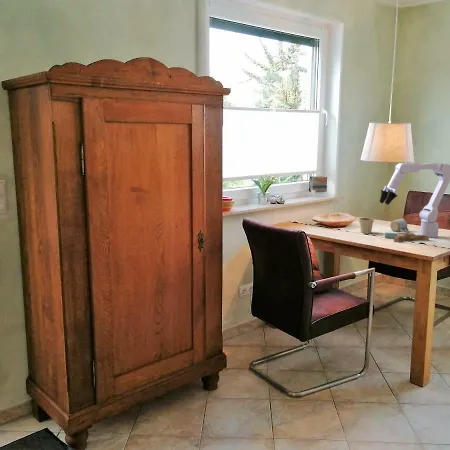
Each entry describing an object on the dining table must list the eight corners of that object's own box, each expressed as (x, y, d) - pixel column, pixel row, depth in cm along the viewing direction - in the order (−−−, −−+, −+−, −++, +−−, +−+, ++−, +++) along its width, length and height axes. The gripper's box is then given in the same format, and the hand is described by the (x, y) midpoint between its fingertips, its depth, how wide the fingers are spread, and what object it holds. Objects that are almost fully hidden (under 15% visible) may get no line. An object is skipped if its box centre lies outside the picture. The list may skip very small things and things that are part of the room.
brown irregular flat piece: (422, 237, 291) (423, 232, 291) (432, 242, 279) (432, 236, 278) (386, 237, 291) (387, 232, 290) (395, 242, 278) (395, 237, 277)
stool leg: (407, 238, 287) (408, 231, 287) (407, 238, 285) (408, 232, 285) (385, 236, 291) (385, 230, 291) (384, 237, 289) (385, 231, 289)
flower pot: (354, 232, 305) (355, 218, 304) (363, 230, 311) (364, 217, 310) (367, 234, 298) (368, 220, 297) (376, 232, 304) (377, 219, 303)
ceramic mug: (388, 230, 311) (389, 218, 309) (396, 229, 315) (397, 217, 314) (403, 233, 302) (404, 221, 301) (411, 232, 307) (412, 220, 305)
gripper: (383, 178, 290) (373, 199, 292) (394, 179, 276) (383, 201, 277) (393, 183, 292) (382, 204, 293) (405, 185, 277) (393, 206, 278)
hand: (383, 203), depth 285 cm, fingers open, 7 cm apart
